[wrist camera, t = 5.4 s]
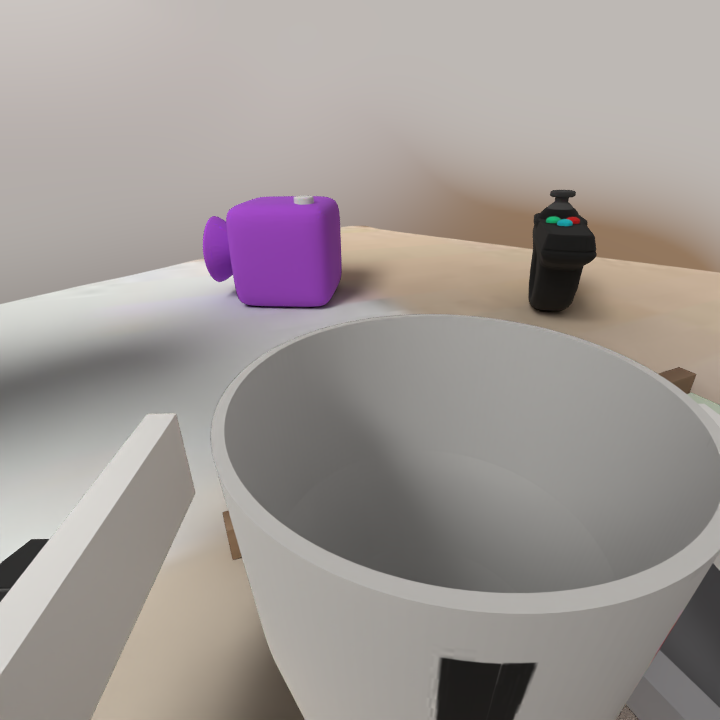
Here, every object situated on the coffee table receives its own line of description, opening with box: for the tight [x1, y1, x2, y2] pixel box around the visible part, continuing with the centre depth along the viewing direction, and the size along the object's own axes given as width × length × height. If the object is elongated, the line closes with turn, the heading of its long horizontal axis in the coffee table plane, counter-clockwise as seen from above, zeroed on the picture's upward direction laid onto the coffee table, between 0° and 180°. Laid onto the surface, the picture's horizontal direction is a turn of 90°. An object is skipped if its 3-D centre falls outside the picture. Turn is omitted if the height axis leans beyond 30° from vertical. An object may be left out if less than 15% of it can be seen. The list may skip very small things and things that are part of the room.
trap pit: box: [626, 563, 720, 720], centre depth 15 cm, size 14×8×2 cm, turn 25°
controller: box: [529, 190, 596, 311], centre depth 38 cm, size 4×12×10 cm, turn 163°
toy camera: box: [203, 196, 341, 307], centre depth 43 cm, size 11×14×10 cm
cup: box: [211, 314, 720, 720], centre depth 10 cm, size 8×8×10 cm
